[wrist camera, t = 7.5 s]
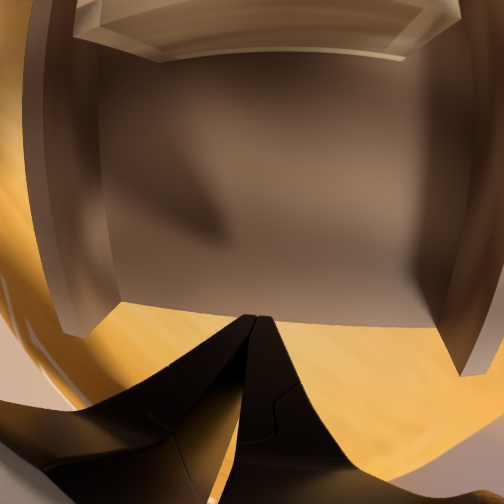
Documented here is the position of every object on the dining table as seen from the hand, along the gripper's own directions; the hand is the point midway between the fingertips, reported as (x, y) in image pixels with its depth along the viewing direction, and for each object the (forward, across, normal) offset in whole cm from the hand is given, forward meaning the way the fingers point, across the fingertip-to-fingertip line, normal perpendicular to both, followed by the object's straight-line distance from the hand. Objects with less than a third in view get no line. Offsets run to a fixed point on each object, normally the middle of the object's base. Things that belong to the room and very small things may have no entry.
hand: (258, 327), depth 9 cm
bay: (+3, 0, -8) cm, 8 cm away
